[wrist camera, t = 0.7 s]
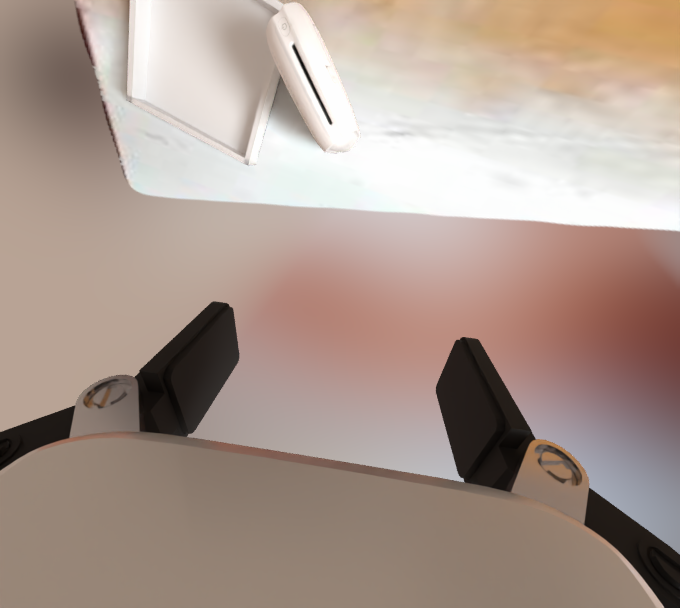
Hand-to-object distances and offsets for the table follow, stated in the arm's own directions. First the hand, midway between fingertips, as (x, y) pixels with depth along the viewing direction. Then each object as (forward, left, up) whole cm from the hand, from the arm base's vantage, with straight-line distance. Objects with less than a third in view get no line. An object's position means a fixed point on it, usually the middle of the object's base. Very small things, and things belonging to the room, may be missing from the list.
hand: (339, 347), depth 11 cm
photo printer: (-9, -9, -30) cm, 32 cm away
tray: (-7, -23, -29) cm, 38 cm away
